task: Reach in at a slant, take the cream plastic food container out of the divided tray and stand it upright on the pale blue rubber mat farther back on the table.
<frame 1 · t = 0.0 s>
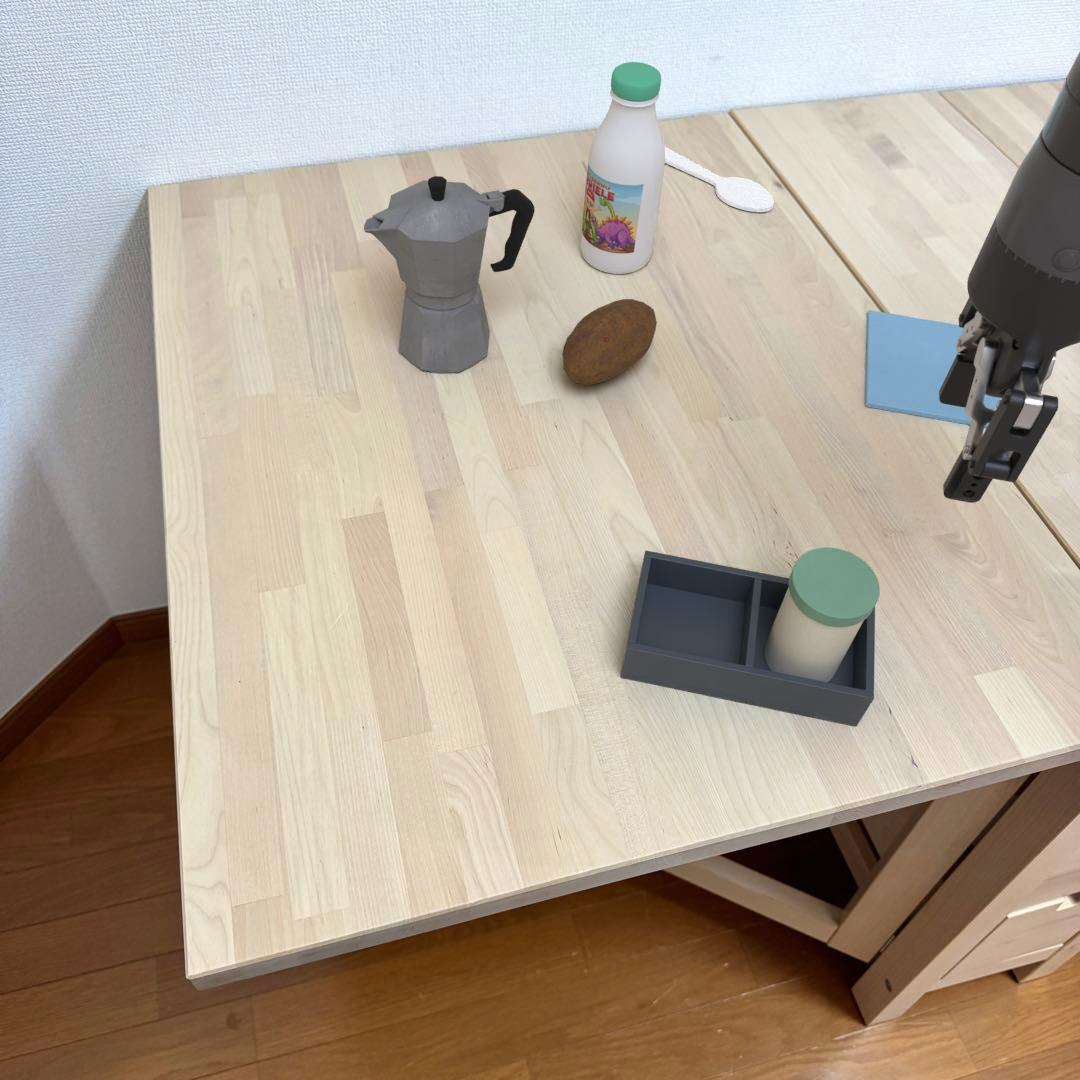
hand: (956, 447, 64), 20 cm above the table, tool pointing down, fingers open, 8 cm apart
coffeepot: (455, 342, 98), on the table
mat: (938, 370, 98), on the table
spoon: (706, 179, 117), on the table
divided tray: (742, 650, 78), on the table
milk bottle: (615, 255, 108), on the table
potato: (604, 369, 97), on the table
container: (800, 656, 77), point 1 cm above the table, touching divided tray
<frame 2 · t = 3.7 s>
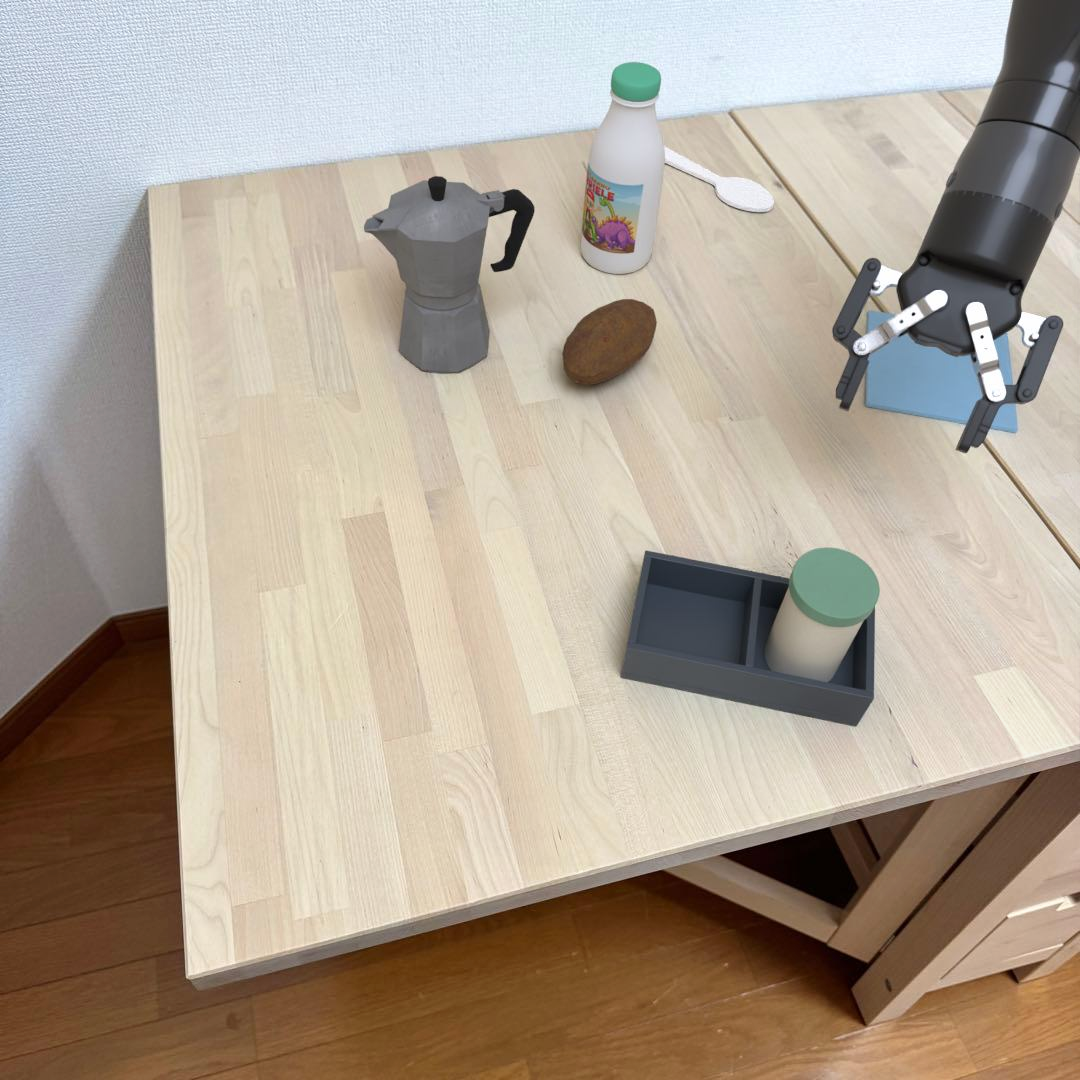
hand: (901, 430, 71), 16 cm above the table, tool tilted 45°, fingers open, 8 cm apart
nothing on the table moved.
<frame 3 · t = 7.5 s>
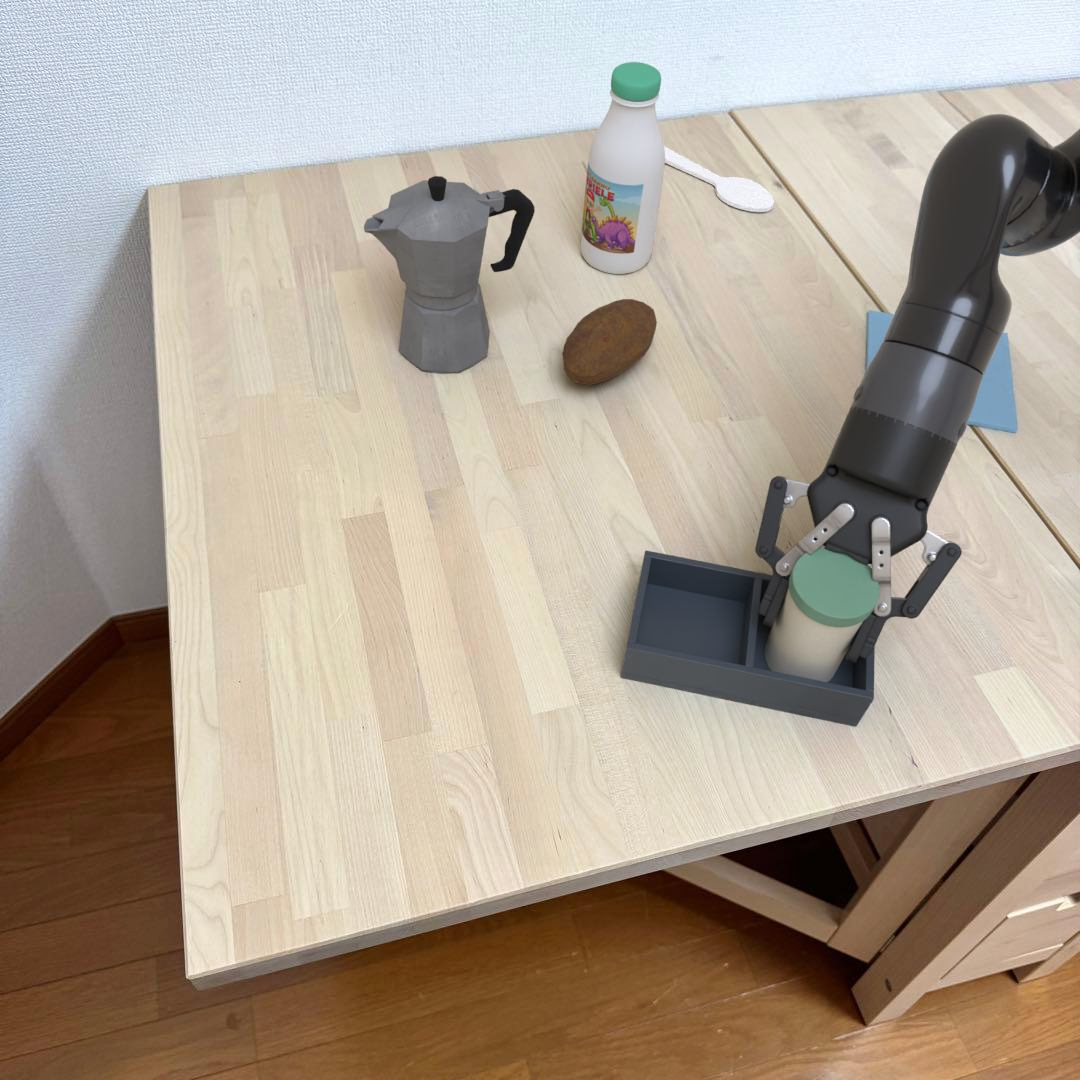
hand: (808, 640, 72), 6 cm above the table, tool tilted 45°, fingers closed on container, 5 cm apart
container: (800, 656, 77), point 1 cm above the table, touching gripper, divided tray
everything else where it was.
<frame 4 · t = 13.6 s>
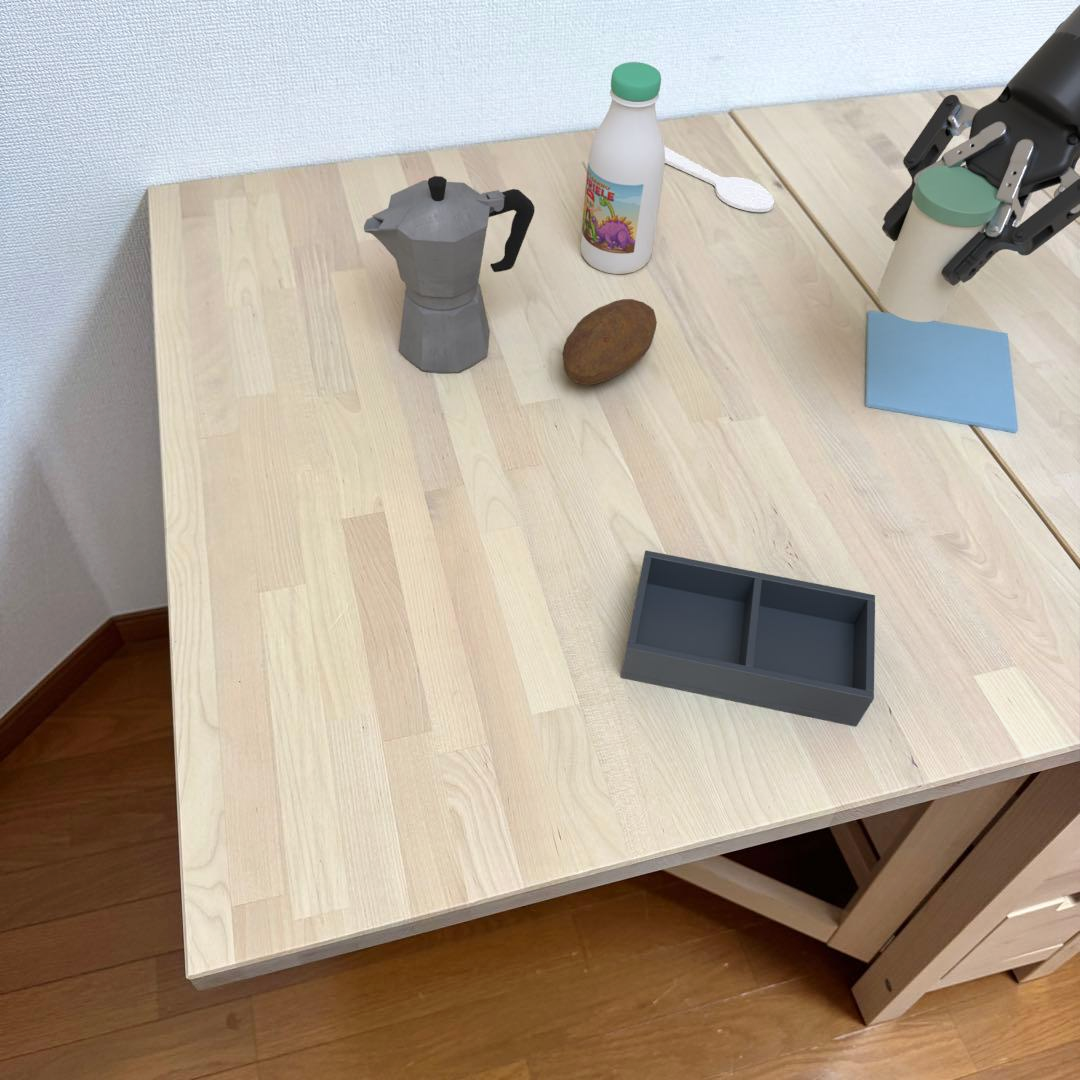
hand: (917, 255, 76), 21 cm above the table, tool tilted 45°, fingers closed on container, 5 cm apart
container: (912, 299, 80), point 16 cm above the table, touching gripper
everything else where it was.
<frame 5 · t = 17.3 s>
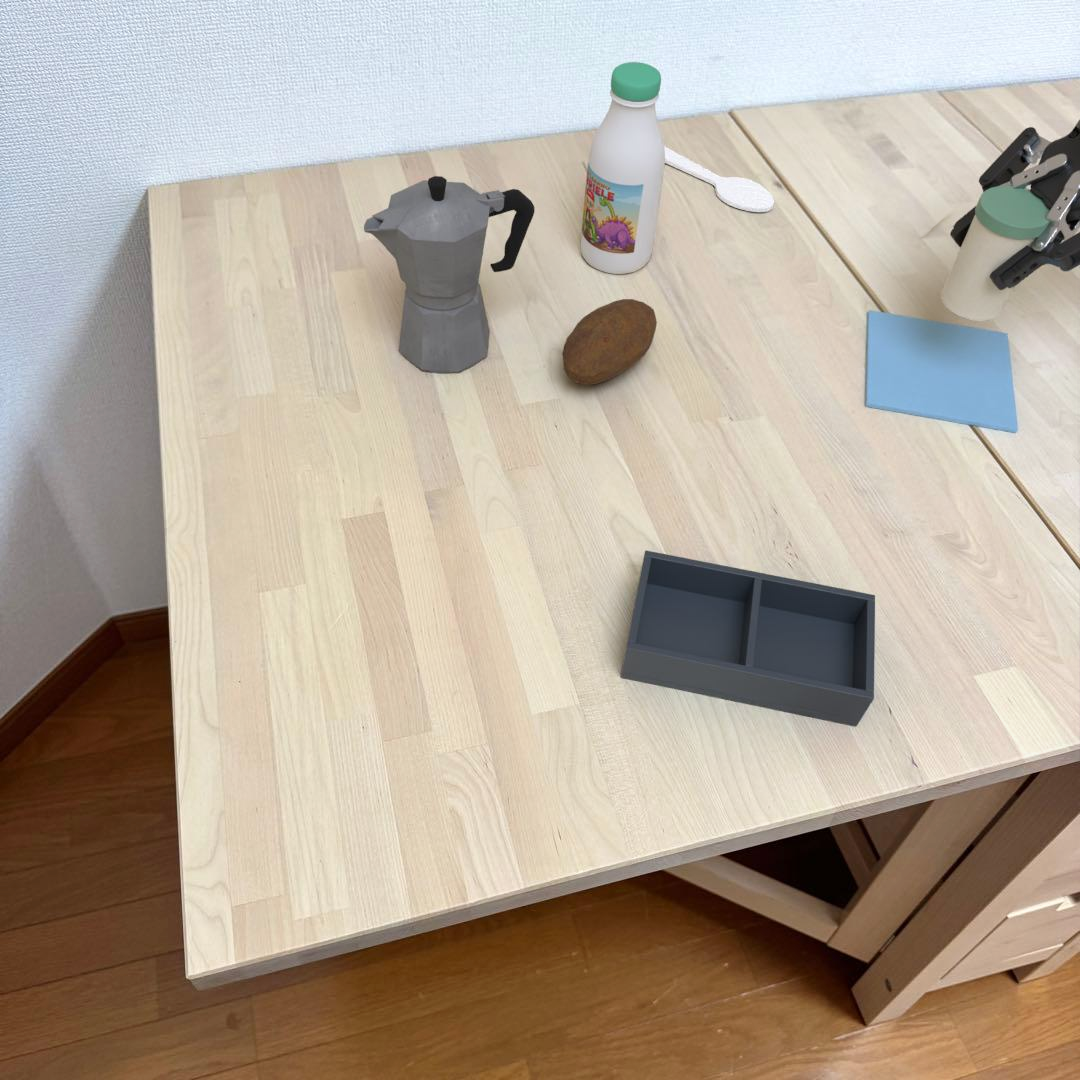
hand: (974, 261, 88), 13 cm above the table, tool tilted 45°, fingers closed on container, 5 cm apart
container: (971, 301, 92), point 9 cm above the table, touching gripper
everything else where it was.
when the fingers open (5 cm above the table, at t = 20.0 s): container stays where it is, resting on mat.
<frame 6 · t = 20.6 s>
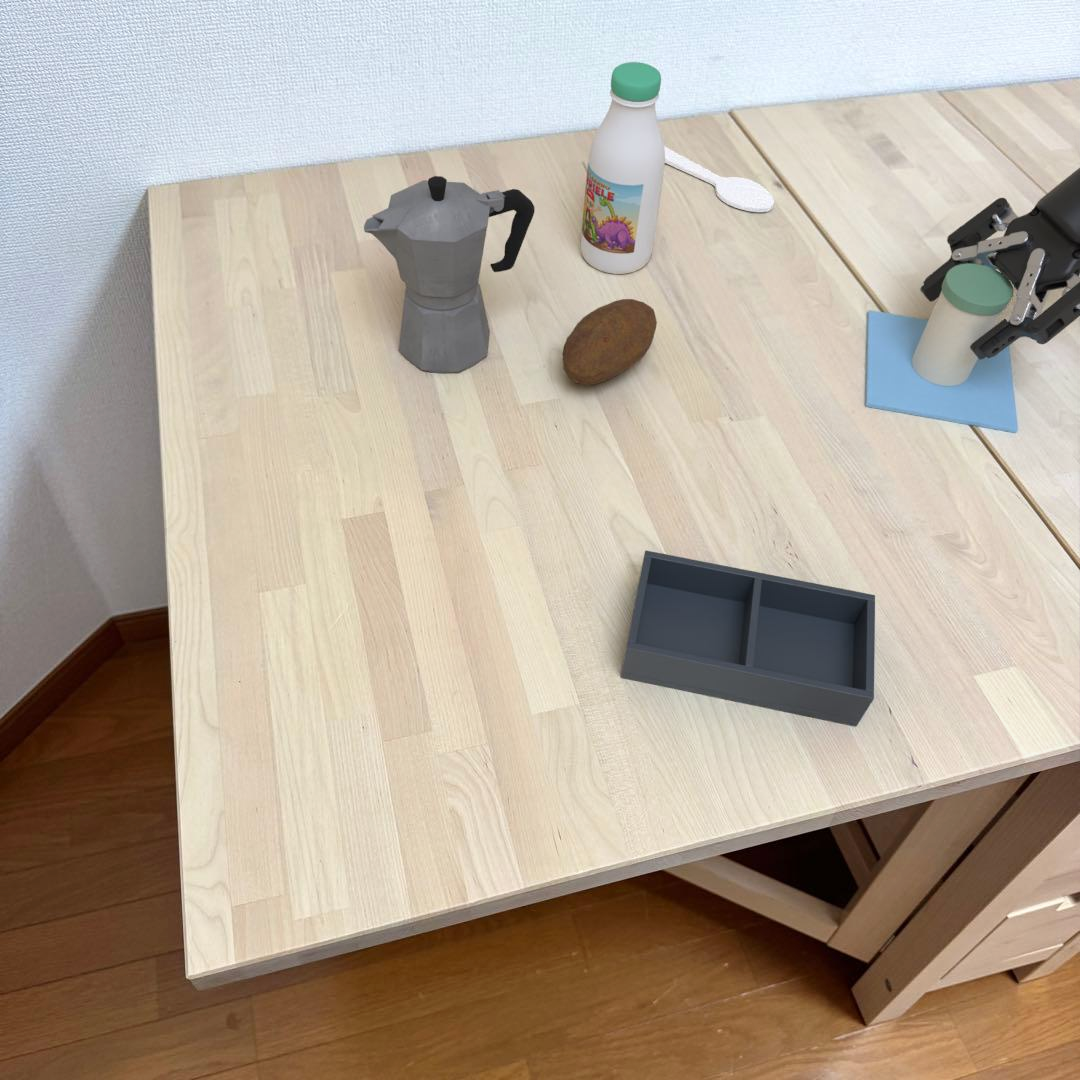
hand: (949, 323, 93), 6 cm above the table, tool tilted 45°, fingers open, 8 cm apart
container: (940, 366, 98), resting on mat
everything else where it was.
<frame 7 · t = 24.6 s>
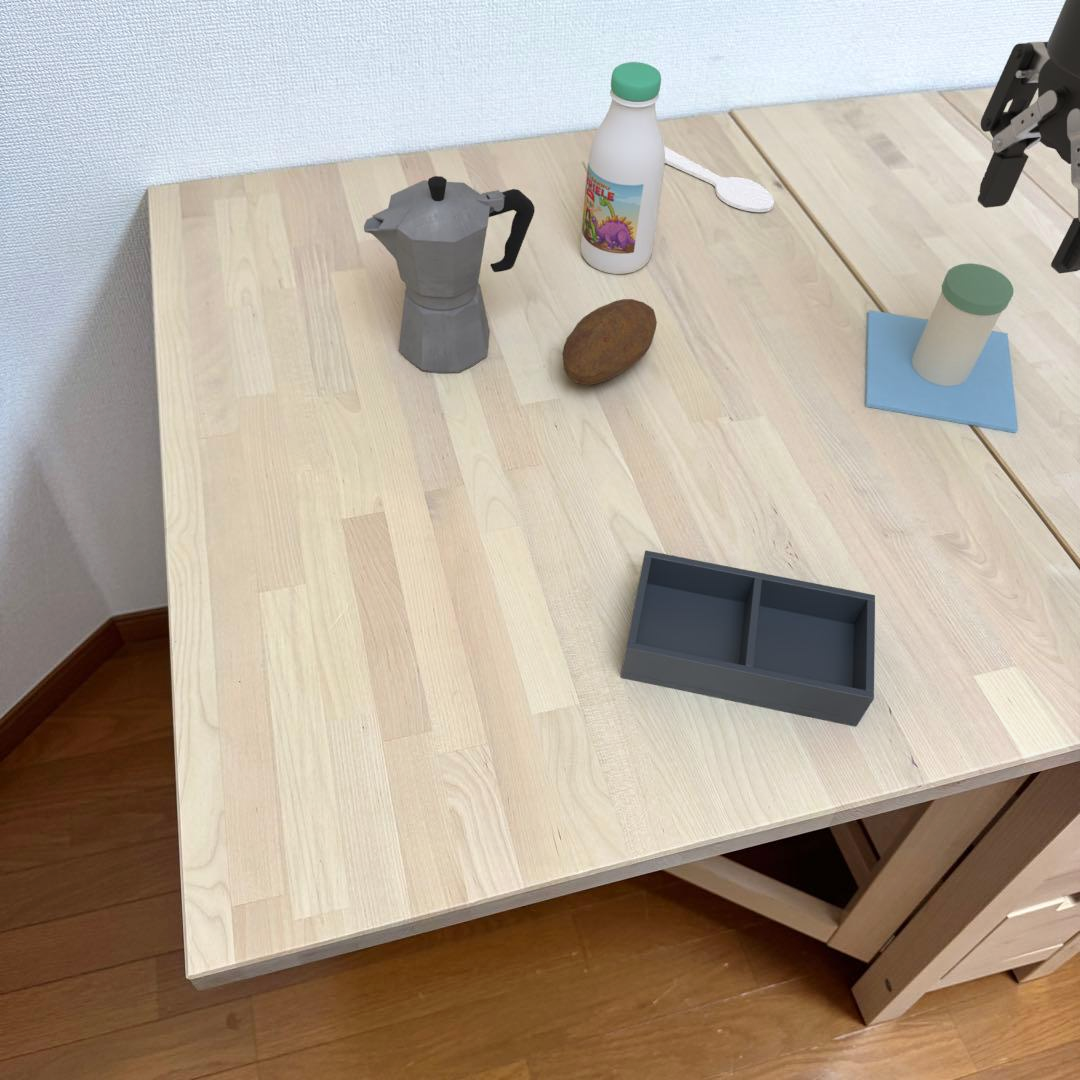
hand: (1026, 235, 69), 26 cm above the table, tool pointing down, fingers open, 8 cm apart
nothing on the table moved.
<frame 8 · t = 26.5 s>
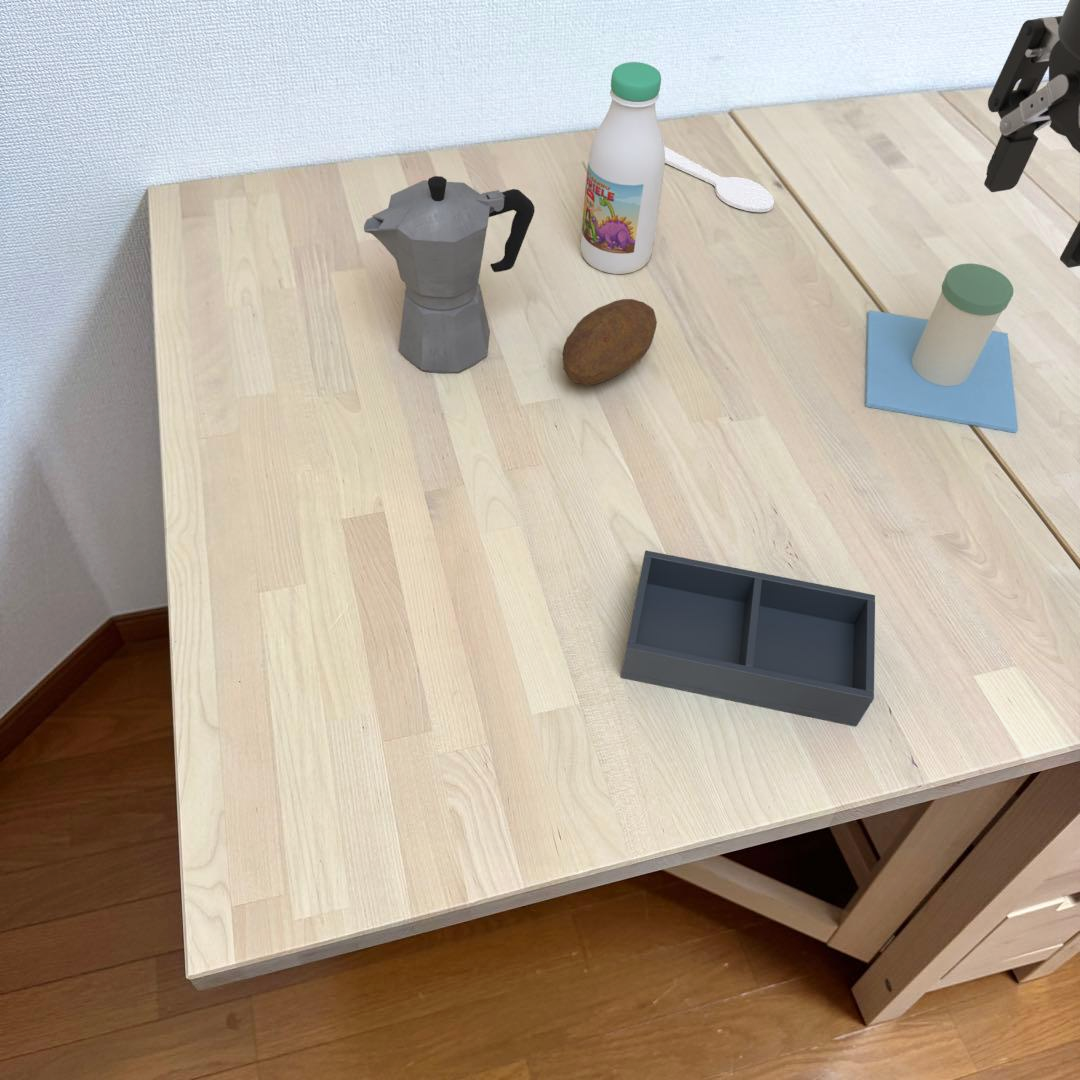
hand: (1035, 223, 66), 28 cm above the table, tool pointing down, fingers open, 8 cm apart
nothing on the table moved.
at the end: container inside the target area on the mat (0.1 cm from its centre), point 0.5 cm above the mat's base; container tilted 0°; the gripper is holding nothing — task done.
